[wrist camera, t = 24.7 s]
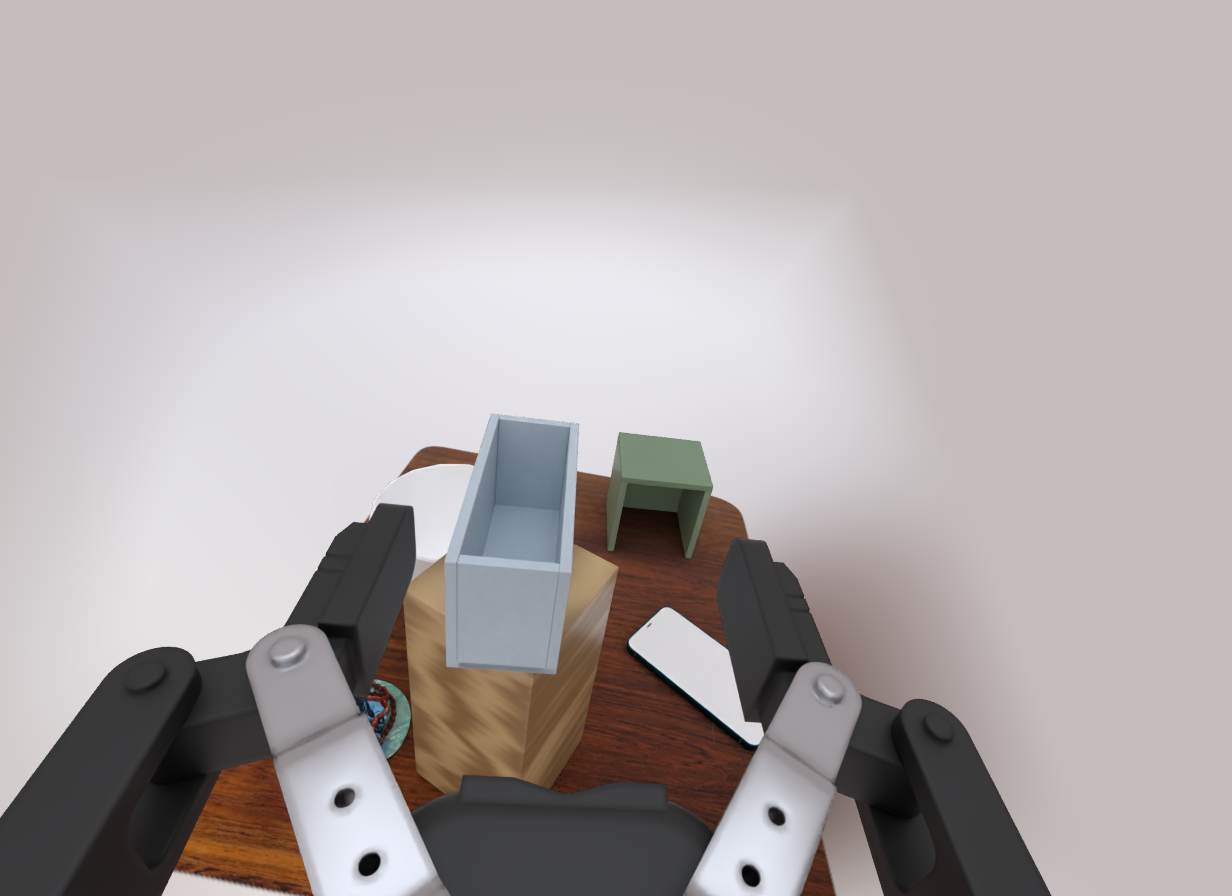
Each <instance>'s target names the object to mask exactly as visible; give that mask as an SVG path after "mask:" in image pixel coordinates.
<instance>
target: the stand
mask: <svg viewBox="0 0 1232 896" xmlns="http://www.w3.org/2000/svg"><path fill="white" fill-rule="evenodd" d="M446 555H447V553H446V554H445V555H444V556H443V557H441V558H440V559H439V560H438V561H436V562H435V563H434V564H432V565H431V566H430V567H429V568H427V569H426V570H425V571H424V572H422V573H421V574H420V575H418V576H417V577H416V578H415V579H413V580H412V581H411V582H410V584H409V587H408V590H407V593H406V595H405V598H404V601H403V605H404V618H405V631H406V644H407V657H408V670H409V683H410V695H411V708H412V721H413V734H414V747H415V760H416V772H417V773H418V774H419V775H421V776H422V777H423V778H425V779H426V780H427V781H429V782H430V783H431V784H432V785H434V786H435V787H436V788H438V789H439V790H440V791H442V792H443V793H444V794H449V793H453V792H457V791H460V786H461V781H462V776H463V775H479V776H500V777H515V778H518V779H521V780H524V781H527V782H530V783H533V784H536V785H539V786H542V787H545V788H548V789H550V788H551V786H552V785H553V783H554V782H555V780H556V779H557V777H558V776H559V774H560V772H561V771H562V769H563V768H564V766H565V765H566V763H567V762H568V760H569V759H570V757H571V755H572V754H573V752H574V751H575V749H576V748H577V746H578V745H579V743H580V742H581V739H582V734H583V730H584V725H585V721H586V716H587V711H588V707H589V702H590V697H591V693H592V688H593V683H594V679H595V674H596V670H597V665H598V660H599V656H600V651H601V646H602V642H603V637H604V633H605V628H606V623H607V619H608V614H609V609H610V605H611V600H612V596H613V591H614V586H615V582H616V577H617V572H618V566H616V565H614V564H612V563H610V562H608V561H606V560H604V559H602V558H600V557H598V556H596V555H594V554H593V553H591V552H589V551H587V550H585V549H583V548H581V547H579V546H577V545H575V544H573V555H572V574H571V580H570V587H569V593H568V600H567V606H566V613H565V619H564V626H563V632H562V639H561V645H560V652H559V658H558V665H557V671H556V674H543V673H529V672H514V671H499V670H484V669H470V668H456V667H447V666H446V629H445V576H444V561H445V558H446Z"/></svg>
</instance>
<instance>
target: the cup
mask: <svg viewBox="0 0 1232 896" xmlns="http://www.w3.org/2000/svg"><path fill="white" fill-rule="evenodd" d="M473 469H474V466H472V465H468V464H438V465H434V466H429V467H425V468H420V469H416V470H412V471H410V472H408V473H407V474H405V475H403V476H401V477H399V478H397V479H395V480H393V481H391V482H390V483H389V484H388V485H387V486H386V487H385V488H384V489H383V490H382V491H381V492H380V493H379V494H378V495H377V497H376V498H375V499H374V500H373V505H372V509H371V513H370V517H369V521H370V519H371V517H372V515H373V513H374V511H375V509H376V507H377V506H378V504H379V503H387V504H398V505H408V506H412V507H413V509H414V522H415V539H416V562H415V568H414V573H413V576H412V579H411V581H412V580H413V579H415V578H416V577H417V576H418V575H420V574H421V573H422V572H424V571H425V570H426V569H427V568H429V567H430V566H431V565H432V564H434V563H435V562H436V561H438V560H439V559H440V558H441V557H443V556H444V555H445V554H446V553H447V552H448V548H449V545H450V542H451V539H452V536H453V532H454V529H455V526H456V523H457V520H458V517H459V513H460V510H461V507H462V504H463V501H464V498H465V494H466V491H467V488H468V485H469V482H470V479H471V475H472V472H473Z"/></svg>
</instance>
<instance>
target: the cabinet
mask: <svg viewBox="0 0 1232 896" xmlns="http://www.w3.org/2000/svg"><path fill="white" fill-rule="evenodd" d="M712 489H713V484H712V482H711V477H710V474H709V470H708V467H707V464H706V460H705V457H704V453H703V450H702V446H701V442H699V441H690V440H681V439H673V438H665V437H656V436H647V435H639V434H630V433H621V432H619V436H618V441H617V447H616V452H615V458H614V463H613V468H612V474H611V479H610V485H609V490H608V496H607V501H606V506H607V550H608V551H614V547H615V542H616V537H617V532H618V527H619V522H620V517H621V513H622V508H623V507H630V508H640V509H649V510H659V511H669V512H677V516H678V521H679V527H680V532H681V537H682V543H683V548H684V554H685V558H691V557H692V554H693V550H694V547H695V544H696V541H697V538H698V534H699V531H700V528H701V525H702V521H703V518H704V515H705V512H706V509H707V505H708V502H709V499H710V496H711V492H712Z"/></svg>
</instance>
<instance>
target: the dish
mask: <svg viewBox="0 0 1232 896" xmlns="http://www.w3.org/2000/svg"><path fill="white" fill-rule="evenodd" d="M354 700H355V702H356V704H357V706H358V709H359V710H360V712H362V711H363V712H364V713H365V714H366V716H367V718H368V720H369V722H370V724H371V726H372V728H373V731H374V733H375V735H376V737H377V739H378V742H379V744H380V746H381V748H382V751H383V753H384V755H385V757H386V759H388V758H389V757H391V756H392V755H393V754H394V753H395V752H396V751H397V750H398V749H399V747H400V746H401V744H402V743H403V741H404V739H405V737H406V735H407V732H408V729H409V725H410V719H411V713H410V707H409V704H408V701H407V699H406V697H405V695H404V694H403V693H402V692H401V691H400V690H399V689H398V688H396V687H395V686H394V685H392V684H390V683H388V682H384V681H379V680H374V682H373V684H372V687H371V690H370V692H369V695H368V697H354Z"/></svg>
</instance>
